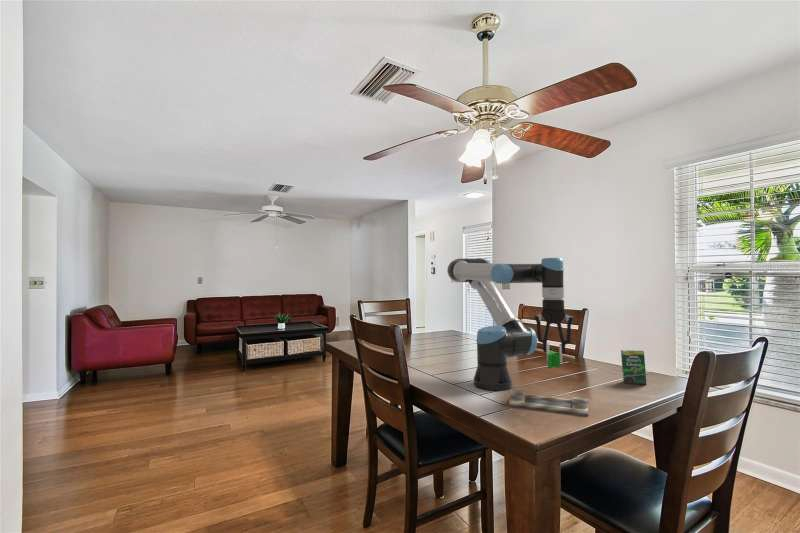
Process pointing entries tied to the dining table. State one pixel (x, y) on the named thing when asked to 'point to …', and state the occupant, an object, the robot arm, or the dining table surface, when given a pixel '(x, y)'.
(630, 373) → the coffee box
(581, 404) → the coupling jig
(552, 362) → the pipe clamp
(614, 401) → the dining table surface
